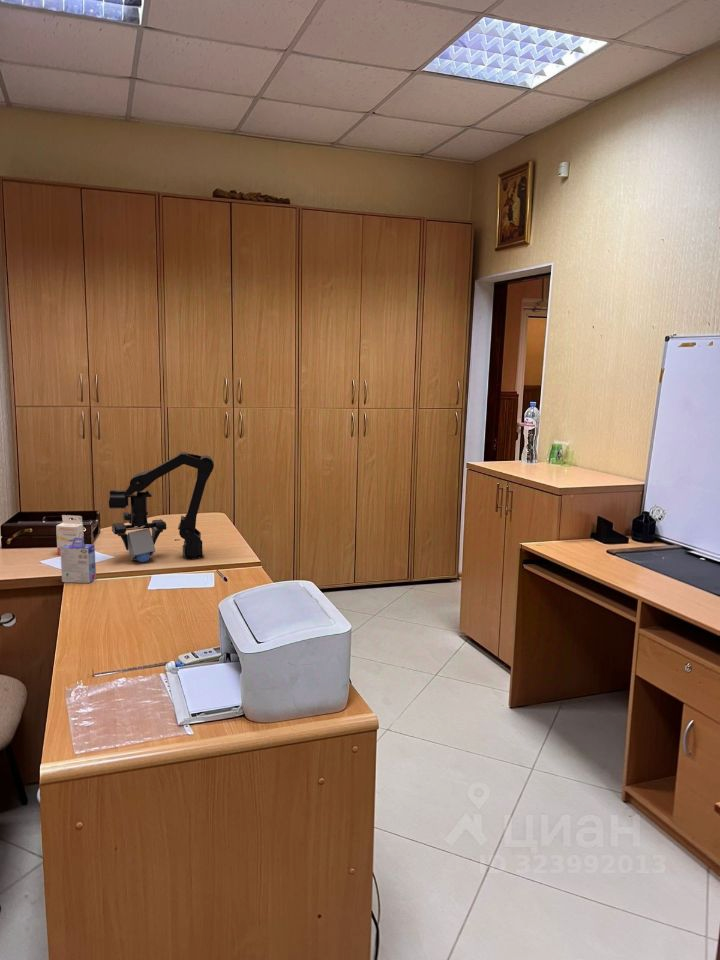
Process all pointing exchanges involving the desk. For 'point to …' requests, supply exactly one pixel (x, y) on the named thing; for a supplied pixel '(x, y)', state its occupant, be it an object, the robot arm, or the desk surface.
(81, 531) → the ink cartridge box
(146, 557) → the ball
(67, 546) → the ink cartridge box
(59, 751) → the desk surface
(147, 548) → the matte gray cube
